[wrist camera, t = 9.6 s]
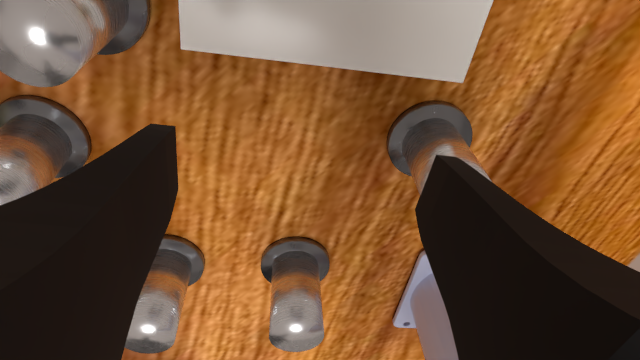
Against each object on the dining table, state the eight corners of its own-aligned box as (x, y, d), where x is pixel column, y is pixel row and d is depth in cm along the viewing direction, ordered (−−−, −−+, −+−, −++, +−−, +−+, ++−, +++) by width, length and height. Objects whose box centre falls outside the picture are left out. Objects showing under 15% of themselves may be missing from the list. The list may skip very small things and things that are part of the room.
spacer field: (523, 3, 18) (598, 44, 14) (404, 293, 30) (424, 365, 25) (-83, -89, 15) (-237, -73, 11) (46, 277, 27) (-1, 357, 22)
